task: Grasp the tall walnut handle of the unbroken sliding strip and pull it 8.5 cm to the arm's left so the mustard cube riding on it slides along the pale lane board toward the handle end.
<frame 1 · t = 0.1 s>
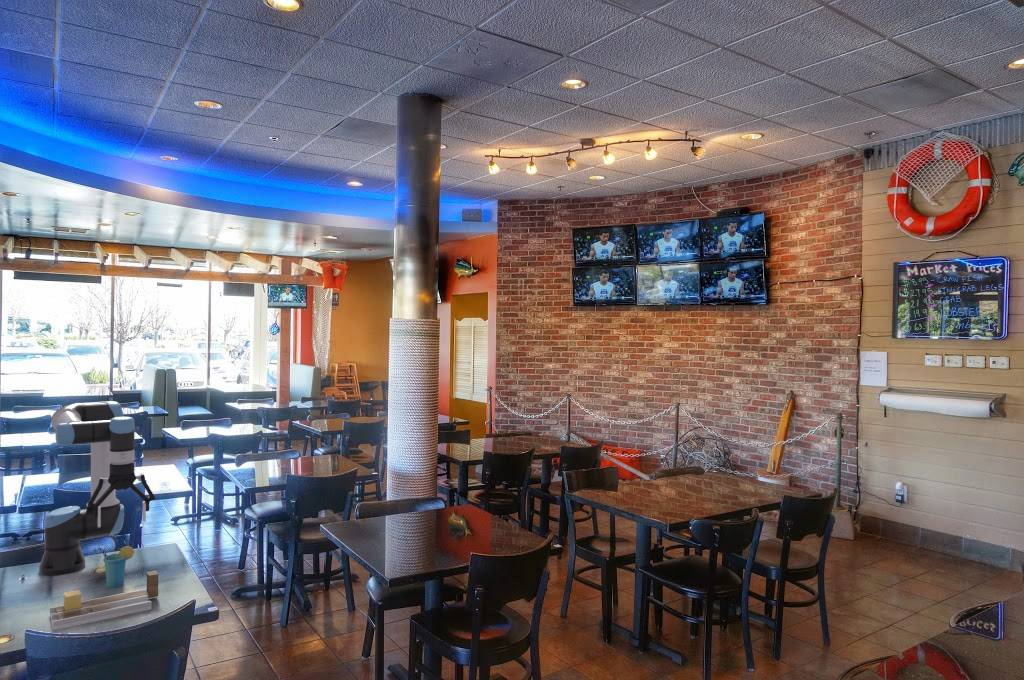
hand: (121, 523, 241), 28 cm above the table, fingers open, 13 cm apart
lane board: (101, 612, 234), on the table
cube: (72, 606, 232), point 3 cm above the table, touching strip
strip: (108, 592, 238), point 5 cm above the table, slide at 0.0 cm, touching cube, lane board
cup: (112, 586, 257), on the table
broken strip: (102, 615, 232), resting on lane board
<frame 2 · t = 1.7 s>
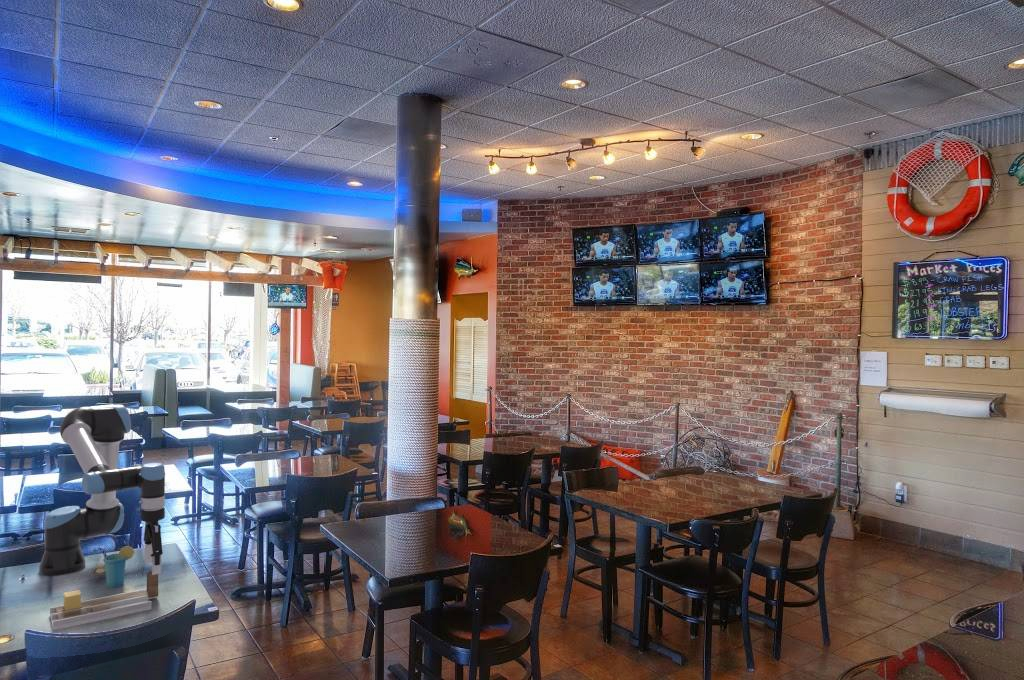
hand: (152, 568, 246), 11 cm above the table, fingers open, 13 cm apart
nothing on the table moved.
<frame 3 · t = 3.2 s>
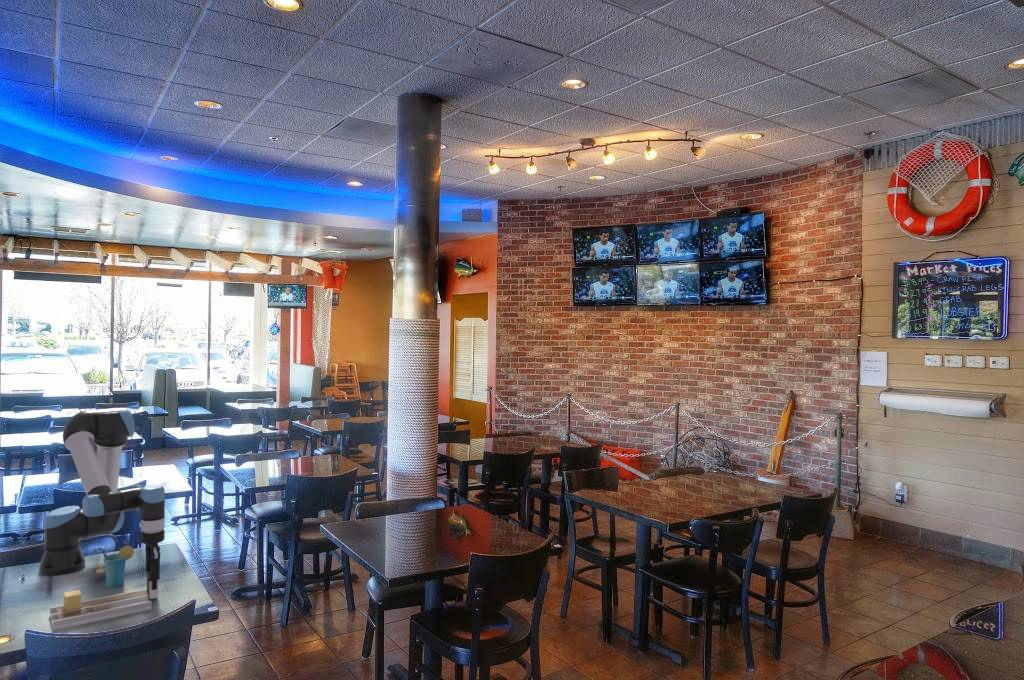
hand: (152, 595, 246), 1 cm above the table, fingers closed on strip, 4 cm apart
strip: (108, 592, 238), point 5 cm above the table, slide at 0.0 cm, touching cube, gripper, lane board
everything else where it was.
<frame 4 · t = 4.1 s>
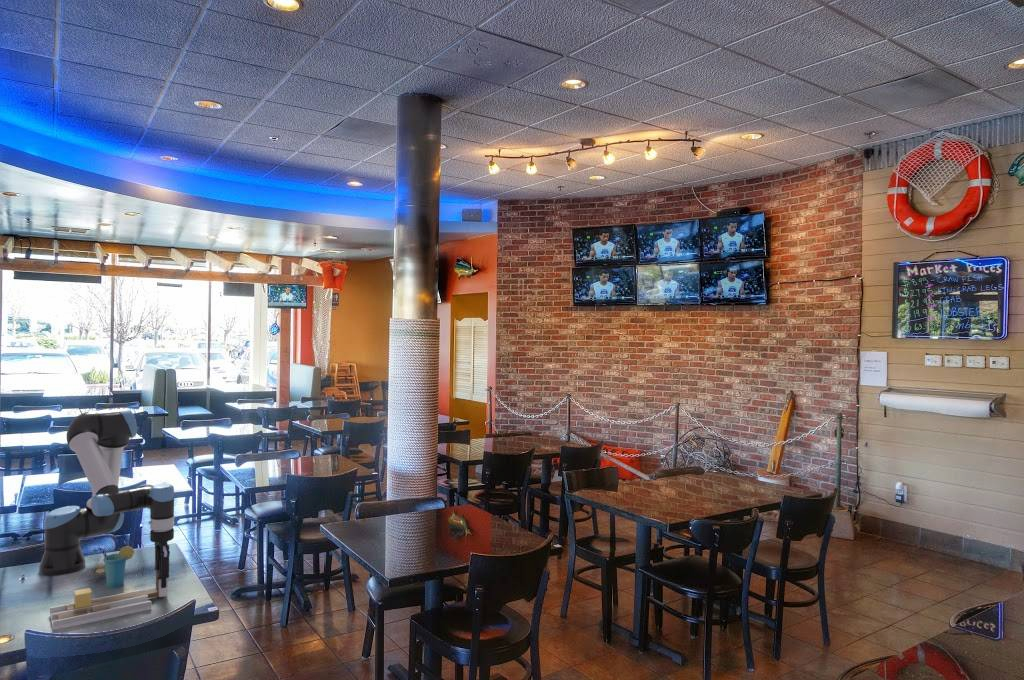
hand: (161, 593, 248), 1 cm above the table, fingers closed on strip, 4 cm apart
cube: (82, 604, 234), point 3 cm above the table, touching strip
strip: (118, 590, 240), point 5 cm above the table, slide at 3.0 cm, touching cube, gripper, lane board
everything else where it was.
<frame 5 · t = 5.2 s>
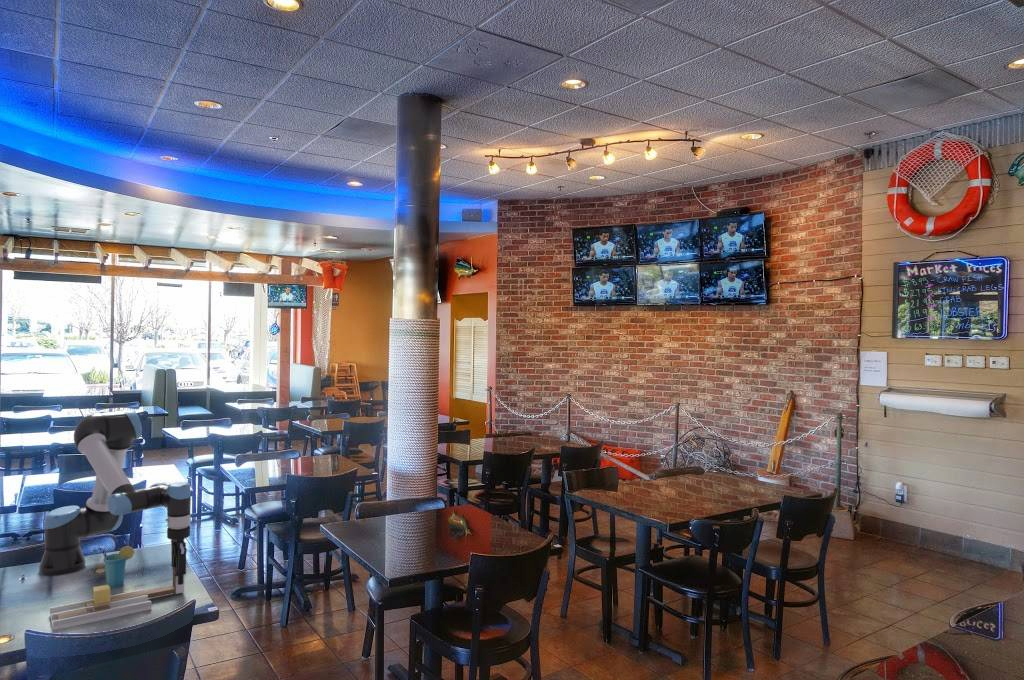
hand: (178, 590, 252), 1 cm above the table, fingers closed on strip, 4 cm apart
cube: (101, 601, 237), point 3 cm above the table, touching strip
strip: (136, 587, 243), point 5 cm above the table, slide at 8.4 cm, touching cube, gripper, lane board
everything else where it was.
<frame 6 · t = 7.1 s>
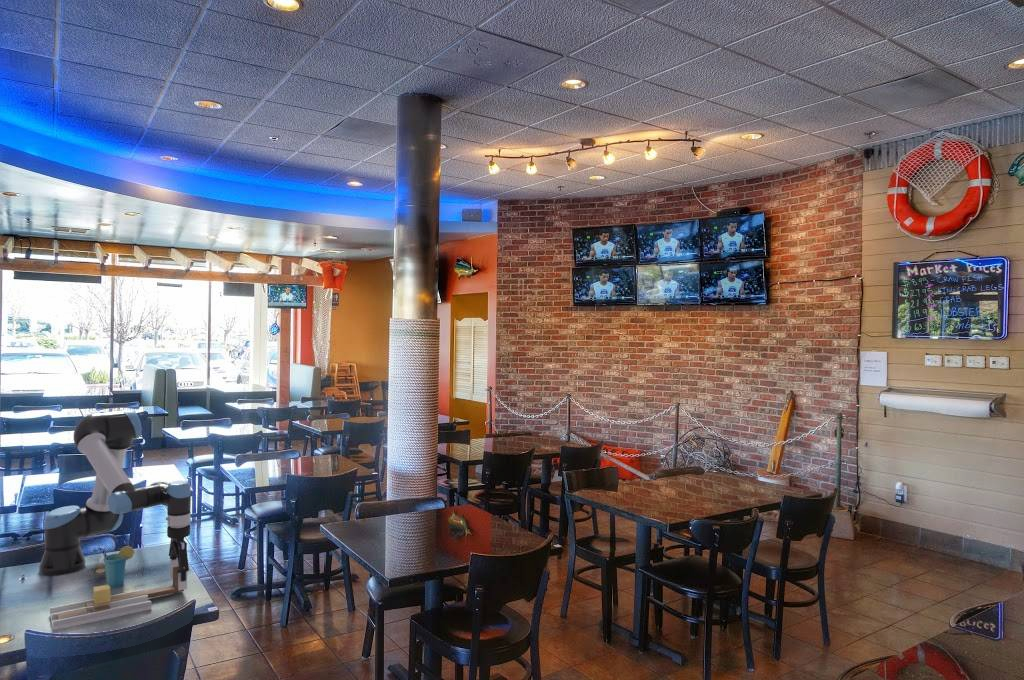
hand: (178, 583, 252), 4 cm above the table, fingers open, 13 cm apart
strip: (136, 587, 243), point 5 cm above the table, slide at 8.5 cm, touching cube, lane board
everything else where it was.
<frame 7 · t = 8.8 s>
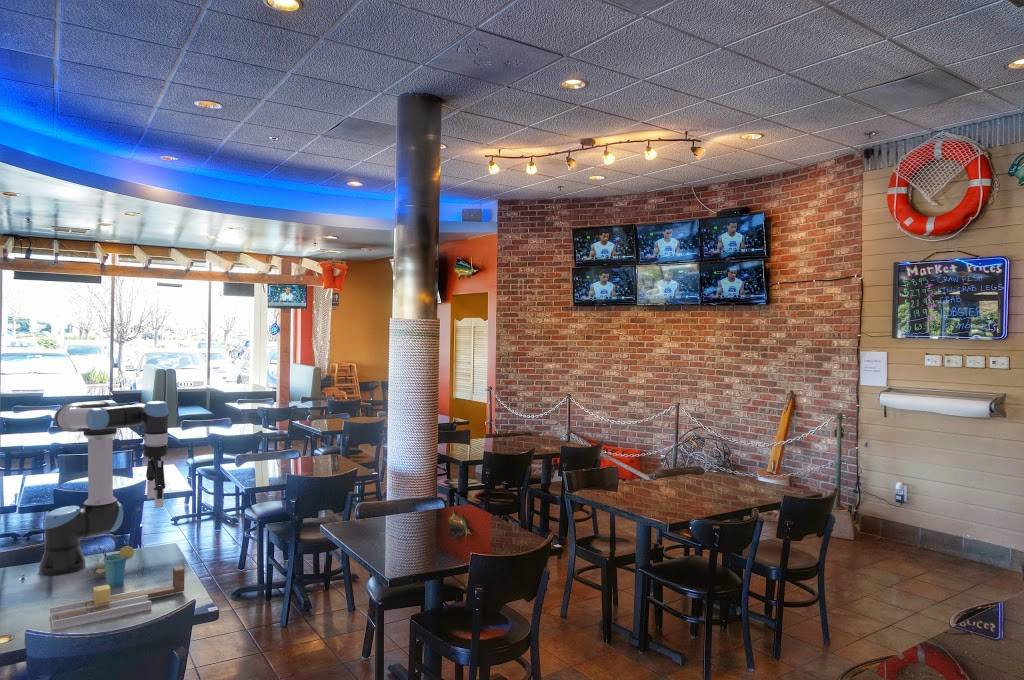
hand: (155, 502, 253), 32 cm above the table, fingers open, 13 cm apart
nothing on the table moved.
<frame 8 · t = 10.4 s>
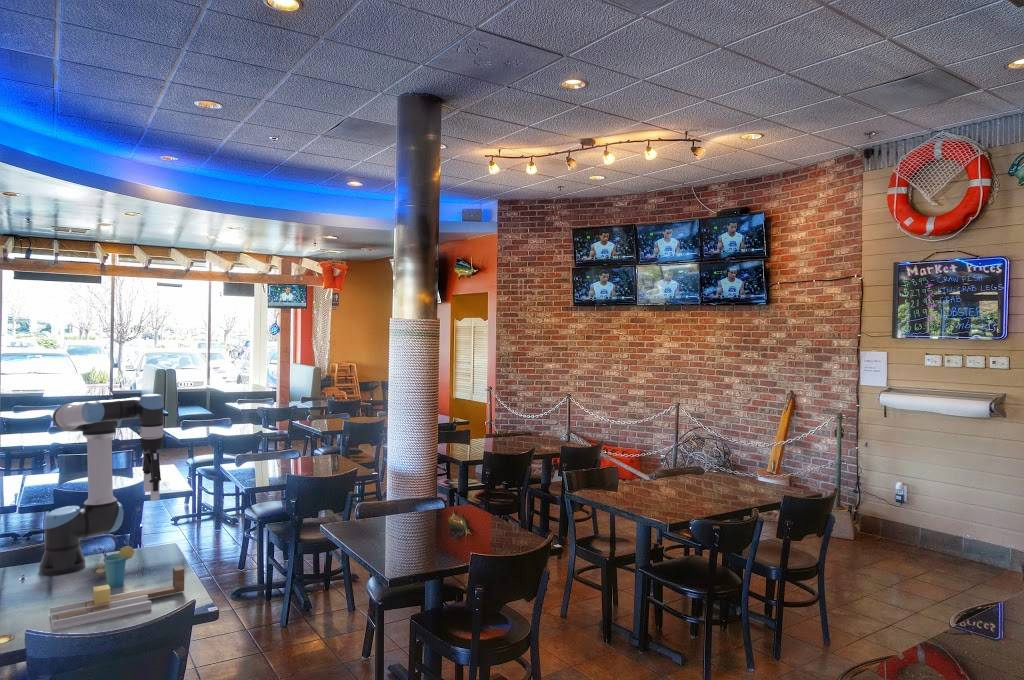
hand: (151, 495, 253), 35 cm above the table, fingers open, 13 cm apart
nothing on the table moved.
at the end: strip slide at 8.5 cm; cube 0.2 cm from the target spot, point 2.8 cm above the table; cube tilted 0° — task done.
